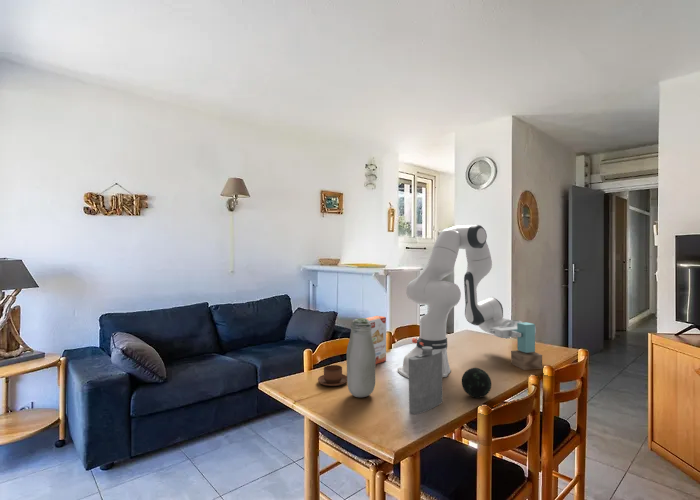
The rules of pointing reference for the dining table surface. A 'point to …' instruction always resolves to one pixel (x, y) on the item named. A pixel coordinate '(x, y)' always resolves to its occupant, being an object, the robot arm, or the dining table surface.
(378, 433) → the dining table surface
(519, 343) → the teal block
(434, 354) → the hip flask
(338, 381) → the cup and saucer
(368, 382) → the glass bottle
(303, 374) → the dining table surface
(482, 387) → the decorative stone
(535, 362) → the walnut base
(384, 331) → the cracker box
